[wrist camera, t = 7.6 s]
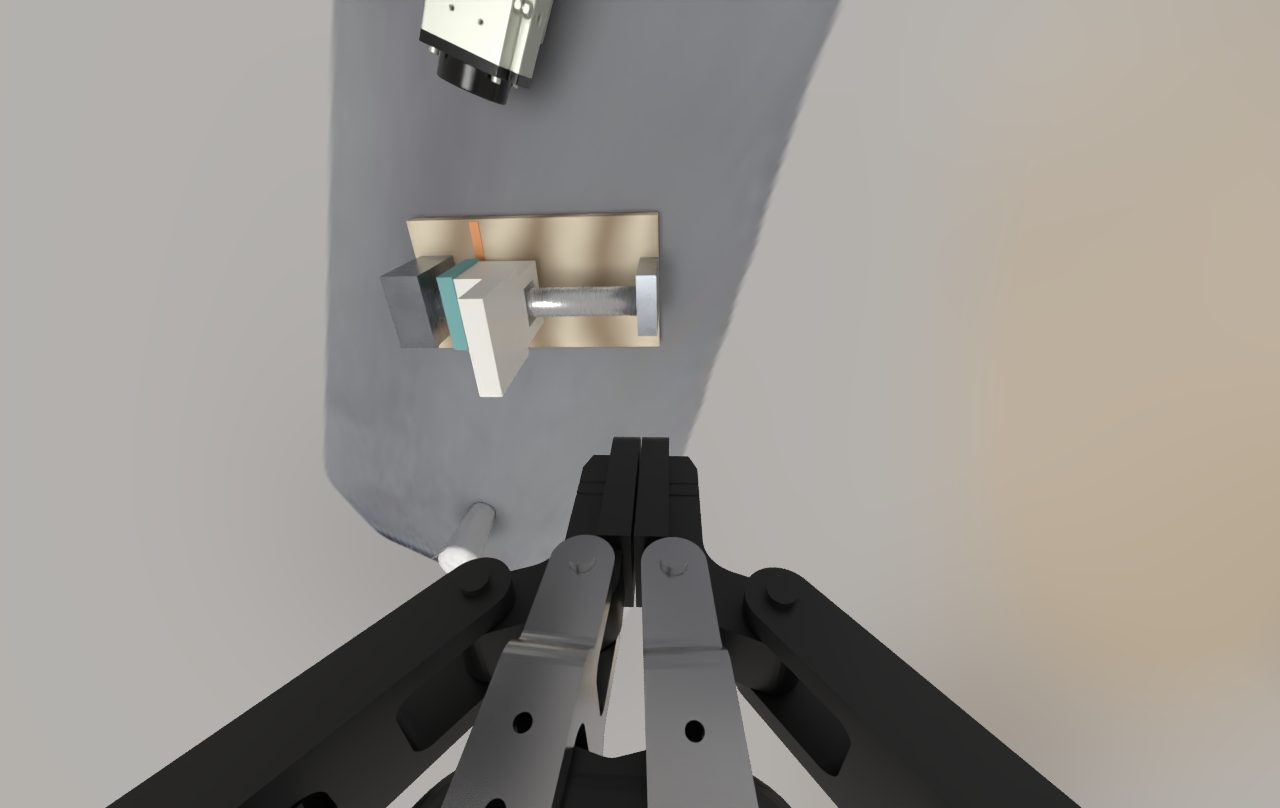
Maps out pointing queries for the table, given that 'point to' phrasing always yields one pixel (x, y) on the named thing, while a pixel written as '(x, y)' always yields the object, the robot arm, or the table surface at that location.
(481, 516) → the milkshake
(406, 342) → the pipe stand
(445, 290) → the thin teal tile
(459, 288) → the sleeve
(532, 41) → the pneumatic valve
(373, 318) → the table surface
